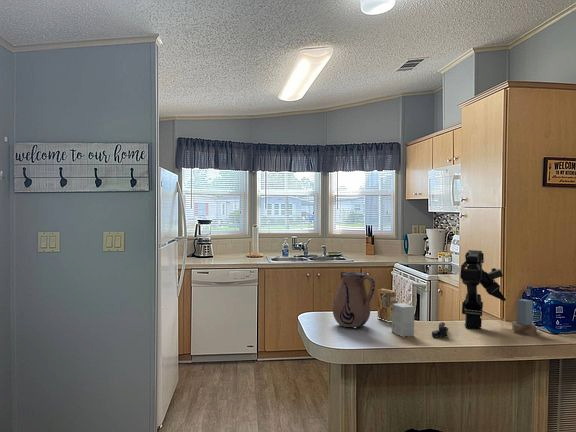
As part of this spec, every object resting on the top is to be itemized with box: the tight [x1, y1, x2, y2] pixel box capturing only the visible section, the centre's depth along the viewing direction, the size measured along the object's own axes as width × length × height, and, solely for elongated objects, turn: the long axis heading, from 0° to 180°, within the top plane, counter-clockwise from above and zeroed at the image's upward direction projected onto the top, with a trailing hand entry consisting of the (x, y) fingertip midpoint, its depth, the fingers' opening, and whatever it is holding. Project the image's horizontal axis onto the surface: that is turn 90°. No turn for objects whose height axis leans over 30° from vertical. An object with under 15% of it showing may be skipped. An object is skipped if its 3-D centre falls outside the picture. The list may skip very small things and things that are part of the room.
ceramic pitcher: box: [332, 271, 376, 328], centre depth 210 cm, size 18×21×25 cm
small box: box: [391, 302, 415, 338], centre depth 198 cm, size 8×6×13 cm
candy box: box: [377, 288, 397, 321], centre depth 223 cm, size 9×4×15 cm, turn 33°
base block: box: [511, 320, 538, 337], centre depth 206 cm, size 9×9×4 cm
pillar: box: [516, 298, 534, 326], centre depth 206 cm, size 4×4×11 cm
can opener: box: [431, 321, 450, 339], centre depth 200 cm, size 18×7×6 cm, turn 155°
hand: (503, 298), depth 215 cm, fingers open, 9 cm apart
